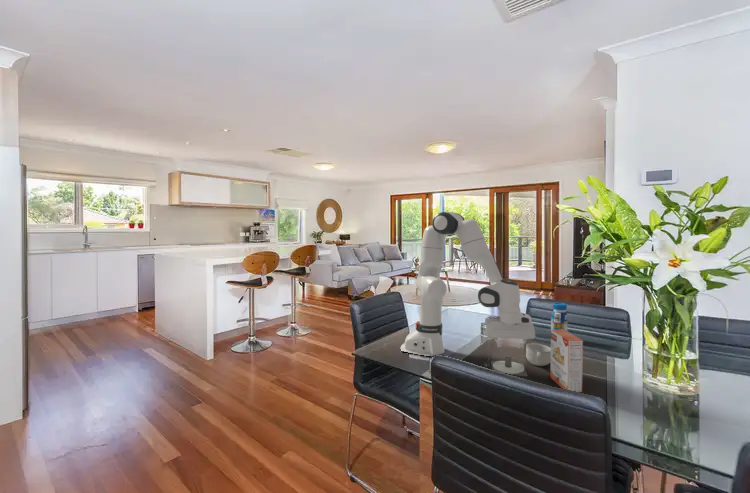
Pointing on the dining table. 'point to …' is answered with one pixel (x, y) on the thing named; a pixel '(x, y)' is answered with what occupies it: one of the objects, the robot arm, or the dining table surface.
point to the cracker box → (566, 360)
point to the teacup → (538, 354)
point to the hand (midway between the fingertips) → (510, 347)
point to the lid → (508, 366)
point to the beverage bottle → (559, 316)
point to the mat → (513, 374)
